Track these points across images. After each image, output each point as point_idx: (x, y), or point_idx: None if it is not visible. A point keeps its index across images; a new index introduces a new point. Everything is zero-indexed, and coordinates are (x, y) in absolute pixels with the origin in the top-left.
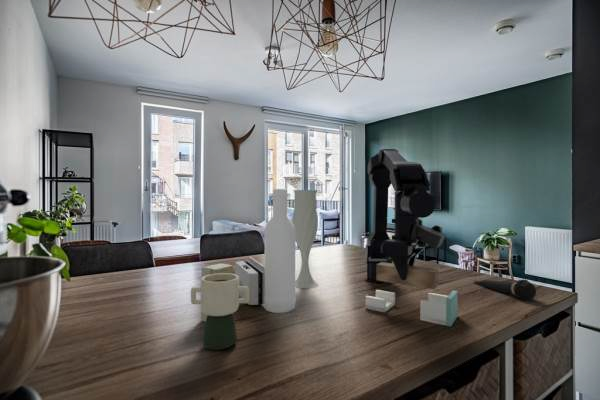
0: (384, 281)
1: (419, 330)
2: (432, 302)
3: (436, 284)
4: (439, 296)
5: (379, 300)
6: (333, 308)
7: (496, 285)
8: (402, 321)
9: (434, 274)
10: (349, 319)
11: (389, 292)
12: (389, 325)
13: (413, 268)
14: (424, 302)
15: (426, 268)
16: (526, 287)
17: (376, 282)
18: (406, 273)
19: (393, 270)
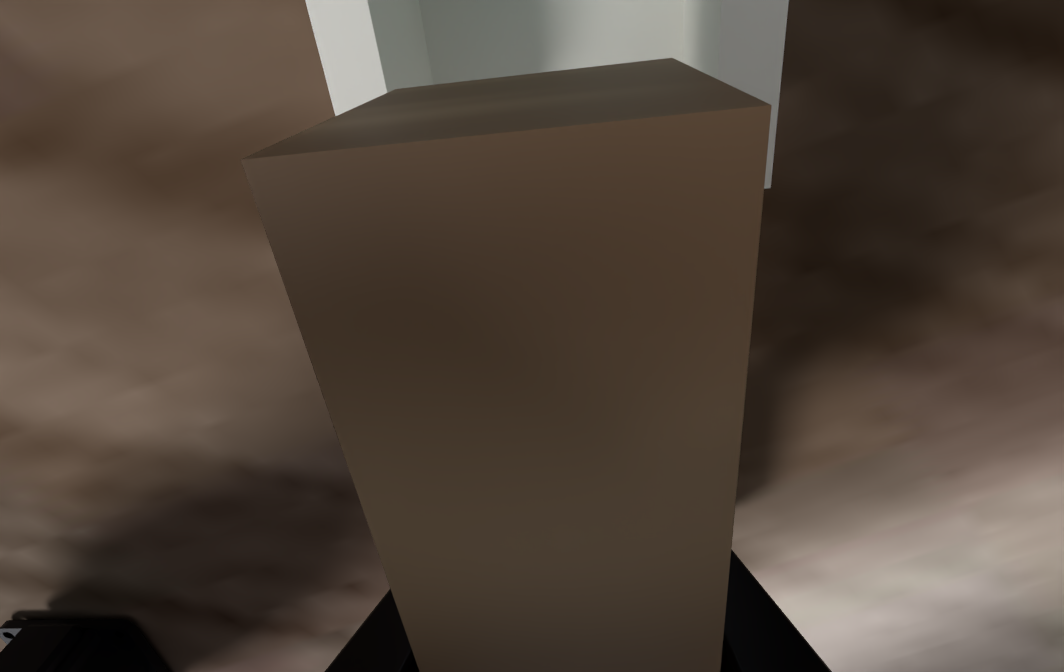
0: (98, 629)
1: (999, 41)
2: (783, 21)
3: (498, 82)
4: (387, 62)
5: None
6: (806, 634)
7: None
8: (830, 245)
9: (735, 96)
10: (964, 515)
11: None
12: (974, 288)
13: (640, 615)
14: (773, 132)
15: (429, 435)
16: None
17: (152, 650)
18: (757, 595)
19: None
